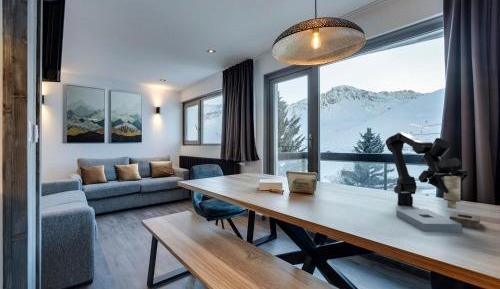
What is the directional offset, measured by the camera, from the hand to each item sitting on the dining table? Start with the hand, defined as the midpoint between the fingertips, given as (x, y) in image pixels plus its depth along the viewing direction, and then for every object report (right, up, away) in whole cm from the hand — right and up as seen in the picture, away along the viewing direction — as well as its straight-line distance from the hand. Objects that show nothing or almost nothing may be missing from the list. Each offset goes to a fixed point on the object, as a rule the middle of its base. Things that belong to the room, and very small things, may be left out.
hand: (454, 192), depth 101 cm
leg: (0, -7, +1) cm, 7 cm away
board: (-10, -13, +3) cm, 17 cm away
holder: (+6, -13, +2) cm, 15 cm away
